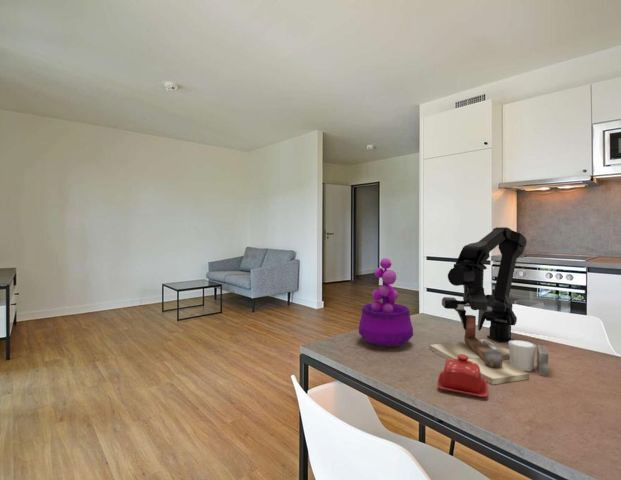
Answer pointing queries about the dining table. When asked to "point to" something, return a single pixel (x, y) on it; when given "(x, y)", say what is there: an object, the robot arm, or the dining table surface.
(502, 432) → the dining table surface
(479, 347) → the lever
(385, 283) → the decorative plant
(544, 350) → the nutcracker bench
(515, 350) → the white mug
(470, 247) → the robot arm
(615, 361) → the dining table surface
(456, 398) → the dining table surface
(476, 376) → the butter dish
